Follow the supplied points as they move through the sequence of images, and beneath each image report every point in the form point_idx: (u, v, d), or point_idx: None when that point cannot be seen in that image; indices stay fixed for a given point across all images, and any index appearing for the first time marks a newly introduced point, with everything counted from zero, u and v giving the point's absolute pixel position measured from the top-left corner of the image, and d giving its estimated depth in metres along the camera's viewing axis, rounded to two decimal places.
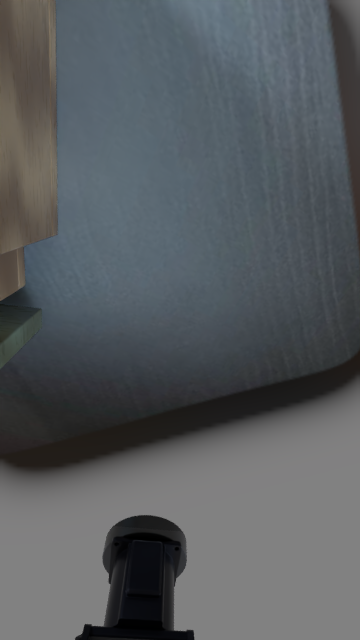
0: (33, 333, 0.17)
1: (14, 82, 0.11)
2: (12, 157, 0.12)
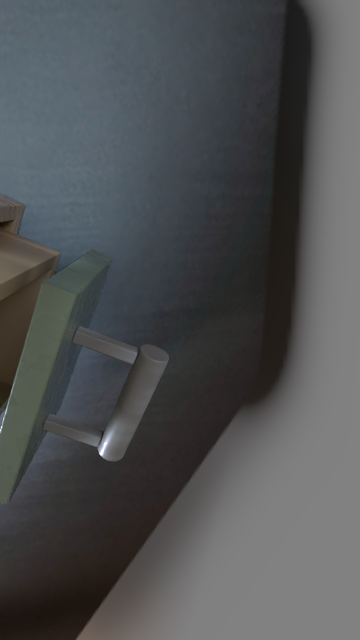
0: (104, 261, 0.16)
1: None
2: None
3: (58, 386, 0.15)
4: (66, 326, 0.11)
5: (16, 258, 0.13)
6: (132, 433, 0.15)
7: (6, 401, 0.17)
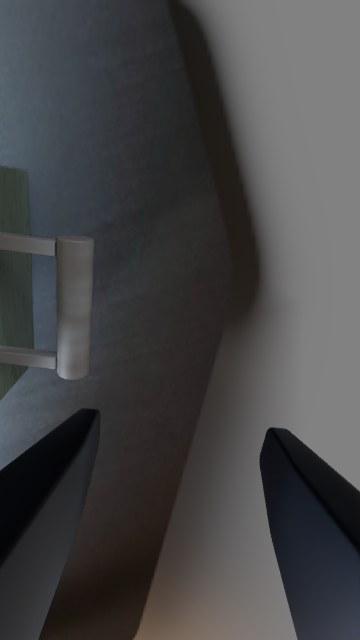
0: (11, 167, 0.14)
1: None
2: None
3: None
4: None
5: None
6: (85, 341, 0.14)
7: None
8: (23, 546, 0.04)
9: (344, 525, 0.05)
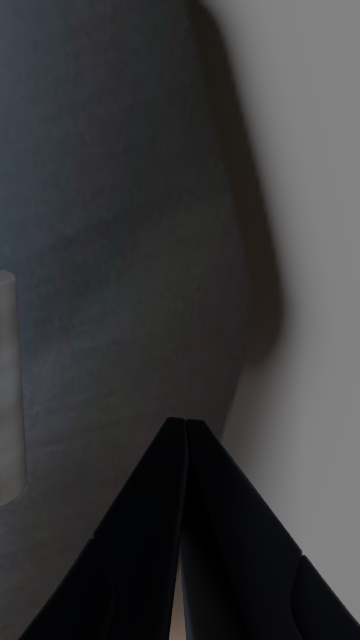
0: None
1: None
2: None
3: None
4: None
5: None
6: (9, 449, 0.08)
7: None
8: None
9: (214, 514, 0.04)
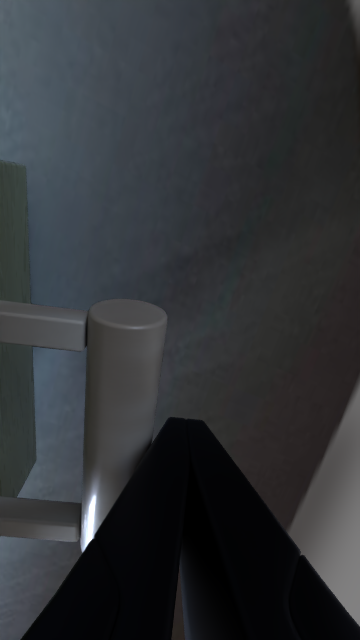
0: None
1: None
2: None
3: None
4: None
5: None
6: None
7: None
8: None
9: (213, 514, 0.04)
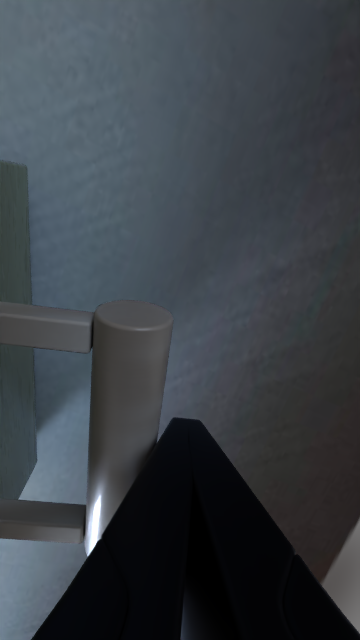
0: None
1: None
2: None
3: None
4: None
5: None
6: None
7: None
8: None
9: (208, 514, 0.04)
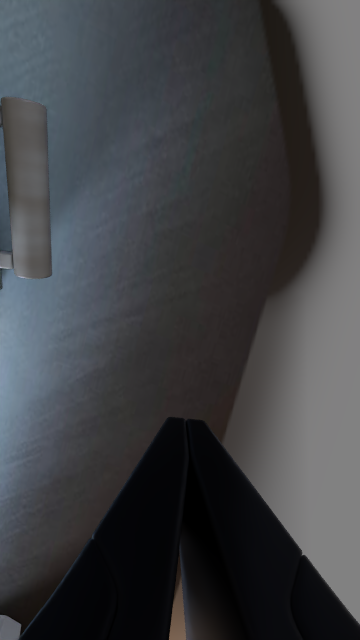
0: None
1: None
2: None
3: None
4: None
5: None
6: (42, 232, 0.12)
7: None
8: (177, 558, 0.04)
9: (214, 514, 0.04)
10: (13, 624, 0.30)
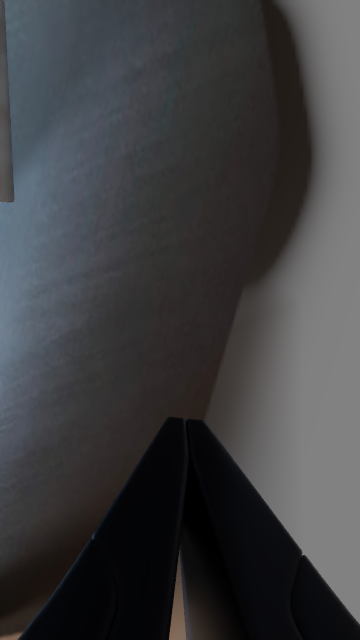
0: None
1: None
2: None
3: None
4: None
5: None
6: (0, 147, 0.11)
7: None
8: (177, 558, 0.04)
9: (214, 514, 0.04)
10: None
